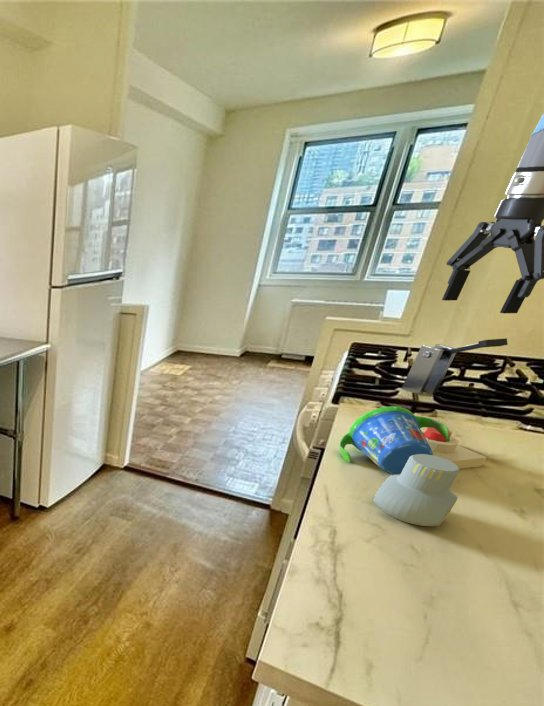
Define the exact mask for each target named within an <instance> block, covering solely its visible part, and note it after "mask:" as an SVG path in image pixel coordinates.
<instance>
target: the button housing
mask: <svg viewBox="0 0 544 706" xmlns="http://www.w3.org/2000/svg"><path fill="white" fill-rule="evenodd" d="M421 431H422V432H423V434H424V433H425V431H426V429H421ZM425 438H426V437H425ZM426 440H427V442H428V443H429V445H430V447H431V450H432V452H433V456H437V457H441V458H444V459H446V460H449V461H451V462H453V463H454V464H456V465H457V466H458V468H459V469H460V470H461V469H467V468H477V467H482V466H483V464H484V463H485V461H486V460H487V457H486V456H484V455H482V454H479V453H477V452H475V451H473V450H470V449H468V448H466V447H464V446H461V445H459V443H460V441H459V440H458V439H457V438H455V437H454V436H453V435H451V436H450V441H449V442H439V441H435V440H431V439H428V438H426Z"/></svg>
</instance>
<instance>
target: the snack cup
mask: <svg viewBox="0 0 544 706" xmlns="http://www.w3.org/2000/svg"><path fill="white" fill-rule="evenodd" d="M428 427H431V428H435V429H436V430H437V431H438V432H439V433H440V434H441V435H442V436H444V437H445V438H446V441H447V442H449V441H450V434H449V431H450V430H449V428H448V426H446V424H444V423H442V422H440V421H438V420H436V419H434V418H430V417H426V416H419V415H415V414H414V413H413V412H412V411H410V409H407V408H405V407H401V406H383V407H378V408H375V409H372V410H370V411H367V412H365V413H364V414H362V415H361V416H359V417H358V418H357V419H356V420H355V421H354V422H353V423H352V424H351V426H350V427H349V429H348V432H347V433H346V434H343V436H342V437H341V438H340V440H339V451H340V455H341V457H342V458H343V459H344V460H345V461H346V462H348V463H351V462H352V457H351V455H350V453H349V452H348V450H346V449H345V448H346V446H348V445H352V446H354V448H355V449H357V450H358V451H360V452H362V453H364V455H365V456H367V457H368V458H369V459H370V460H371V461H372V462H373V463H374V464H375V465H376V466H377V467H378V468H379V469H381V470H382V471H384V472H386V473H389V474H390V475H400V474H401V472H402V470H403V468H404V467H405V465H406V463H407V461H408V459H409V457H410V456H412V455H416V454H427V455H433V452H432V450H431V447H430V445H429V443H428V442H427V440H426V438H425V436H424V434H423V432H422V431H421V430H422V428H428Z"/></svg>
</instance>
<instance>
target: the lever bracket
mask: <svg viewBox="0 0 544 706" xmlns="http://www.w3.org/2000/svg"><path fill="white" fill-rule="evenodd" d="M438 348H446V350H449V349H454V348H455V347H451V346H448V345H445V344H440V343H436V344H435V345H434V346H431V345H427V344H421V346H420V348H419V350H418V352H417V355H416V357H415V358H414V361H413V363H412V365H411V368H410V370H409V372H408V373H407V375H406V378H405V380H404V382H403V384H402V387H401V389H402V390H403V391H407V392H410V393H413V394H415V395H418V396H422V395H423V393H424V392H427V393H429V394H431V395H433V394H436V393H437V392H438V390H439V388H440V386H441V384H442V381H443V380H444V377H445V376H446V374H447V372H448V370H449V368H450V366H451V364H452V363H453V360H454V358H455V357H456V355H457V353H452V354H447V358H442V359H440V357H441V355H442V353H443V351H444V350H442V349H438Z"/></svg>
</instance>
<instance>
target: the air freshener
mask: <svg viewBox="0 0 544 706" xmlns="http://www.w3.org/2000/svg"><path fill="white" fill-rule="evenodd" d="M460 472H461V468H460V469H459V468H458V466H457V465H456V464H454V463H453V462H451V461H449V460H446V459H444V458H441V457H437V456H433V455H427V454H416V455H412V456H410V457H409V459H408V461H407V463H406V465H405V467H404V468H403V470H402V472H401V474H395V475H393V474H390V475H389V476H388V477H387V478H386V479H385V480H384V482H383V483H382V484H381V485H380V487H379V488H378V489H377V491H376V493H375V495H374V497H373V502H374V504H375V505H376V506H377V507H378V508H379V510H381V511H383V512H384V513H385V514H387V515H389V517H392V518H394V519H396V520H398V521H401V522H404V523H407V524H411V525H415V526H422V527H440V525H442V523H443V522H444V521H445V519H446V518H447V516H448V515H449V513H450V512H451V510H452V509H453V508H454V507H455V505H456V502H457V501H458V498H459V497H458V495H456V493H454V492H453V491H452V490H450V489H451V488H452V485H453V484H454V482H455V480H456V479H457V477H458V475H459V474H460Z"/></svg>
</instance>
